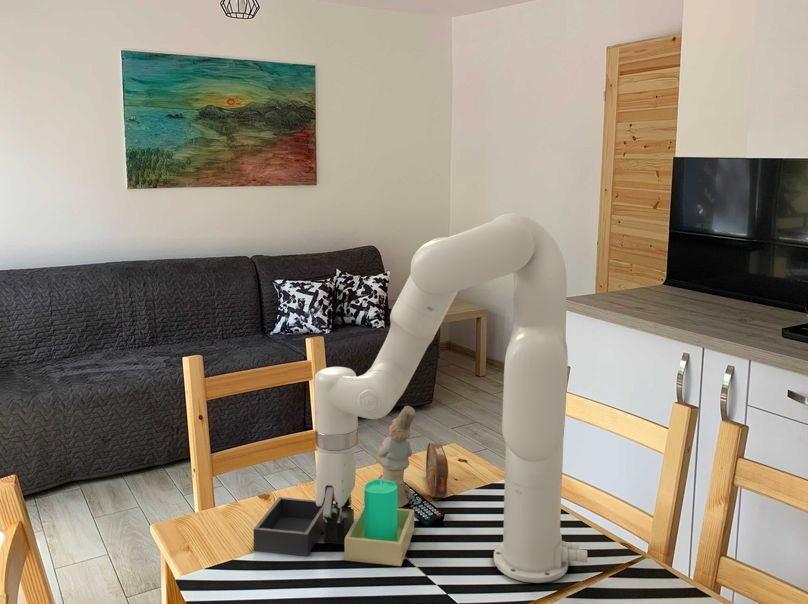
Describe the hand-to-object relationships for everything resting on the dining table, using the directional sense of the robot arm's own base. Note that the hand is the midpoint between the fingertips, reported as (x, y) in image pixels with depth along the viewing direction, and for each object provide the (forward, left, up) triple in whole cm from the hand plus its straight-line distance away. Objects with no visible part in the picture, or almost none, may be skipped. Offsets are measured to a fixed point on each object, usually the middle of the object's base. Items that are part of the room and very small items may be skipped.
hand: (338, 533), depth 128 cm
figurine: (-6, -17, -1) cm, 18 cm away
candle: (-8, 0, -1) cm, 8 cm away
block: (0, 0, -1) cm, 1 cm away
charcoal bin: (+9, 0, -1) cm, 9 cm away
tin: (-14, -24, -1) cm, 28 cm away
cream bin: (-8, 0, -1) cm, 8 cm away
